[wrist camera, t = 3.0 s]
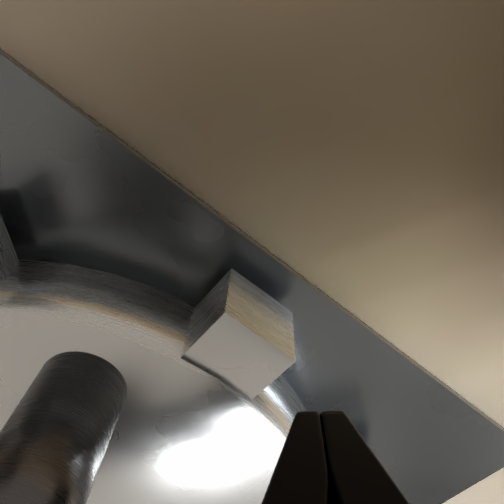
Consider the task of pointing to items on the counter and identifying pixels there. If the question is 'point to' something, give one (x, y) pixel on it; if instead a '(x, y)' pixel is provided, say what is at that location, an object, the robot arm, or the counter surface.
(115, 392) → the sprocket
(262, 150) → the counter surface
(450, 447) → the cover plate
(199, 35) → the counter surface
